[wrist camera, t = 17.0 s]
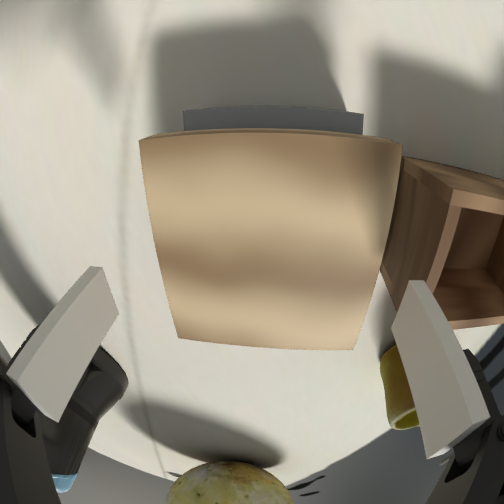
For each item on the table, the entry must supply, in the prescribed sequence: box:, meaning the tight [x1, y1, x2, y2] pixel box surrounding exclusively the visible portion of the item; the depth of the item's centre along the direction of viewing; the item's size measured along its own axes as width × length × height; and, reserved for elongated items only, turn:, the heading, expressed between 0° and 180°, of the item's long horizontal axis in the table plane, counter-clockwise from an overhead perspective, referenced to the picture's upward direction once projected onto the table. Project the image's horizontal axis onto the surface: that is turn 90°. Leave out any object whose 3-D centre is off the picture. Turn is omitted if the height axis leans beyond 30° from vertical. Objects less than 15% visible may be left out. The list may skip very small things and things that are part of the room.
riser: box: [183, 106, 364, 135], centre depth 17 cm, size 9×14×4 cm, turn 1°
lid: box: [139, 128, 403, 350], centre depth 14 cm, size 12×11×3 cm
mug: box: [380, 344, 420, 430], centre depth 22 cm, size 12×10×10 cm
